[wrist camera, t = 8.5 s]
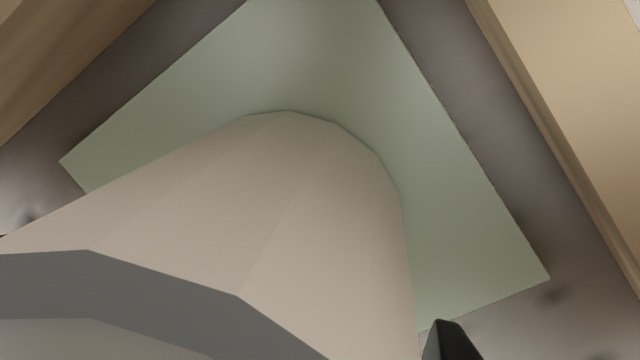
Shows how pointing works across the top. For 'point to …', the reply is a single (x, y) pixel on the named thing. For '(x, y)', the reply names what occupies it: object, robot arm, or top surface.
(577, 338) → the top surface
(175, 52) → the top surface
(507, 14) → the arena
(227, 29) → the pad
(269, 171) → the white cup
